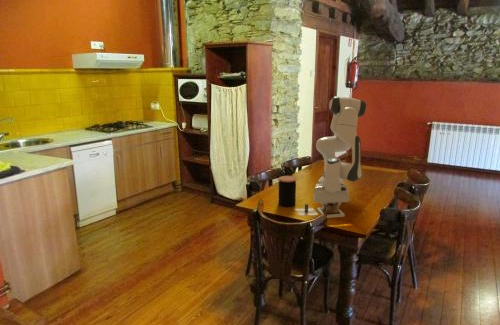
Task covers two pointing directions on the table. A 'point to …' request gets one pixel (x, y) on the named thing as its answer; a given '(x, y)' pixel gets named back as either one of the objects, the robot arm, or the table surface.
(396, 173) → the table surface
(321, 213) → the grey square frame
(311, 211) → the stake
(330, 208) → the brown square block
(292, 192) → the coffee jar
